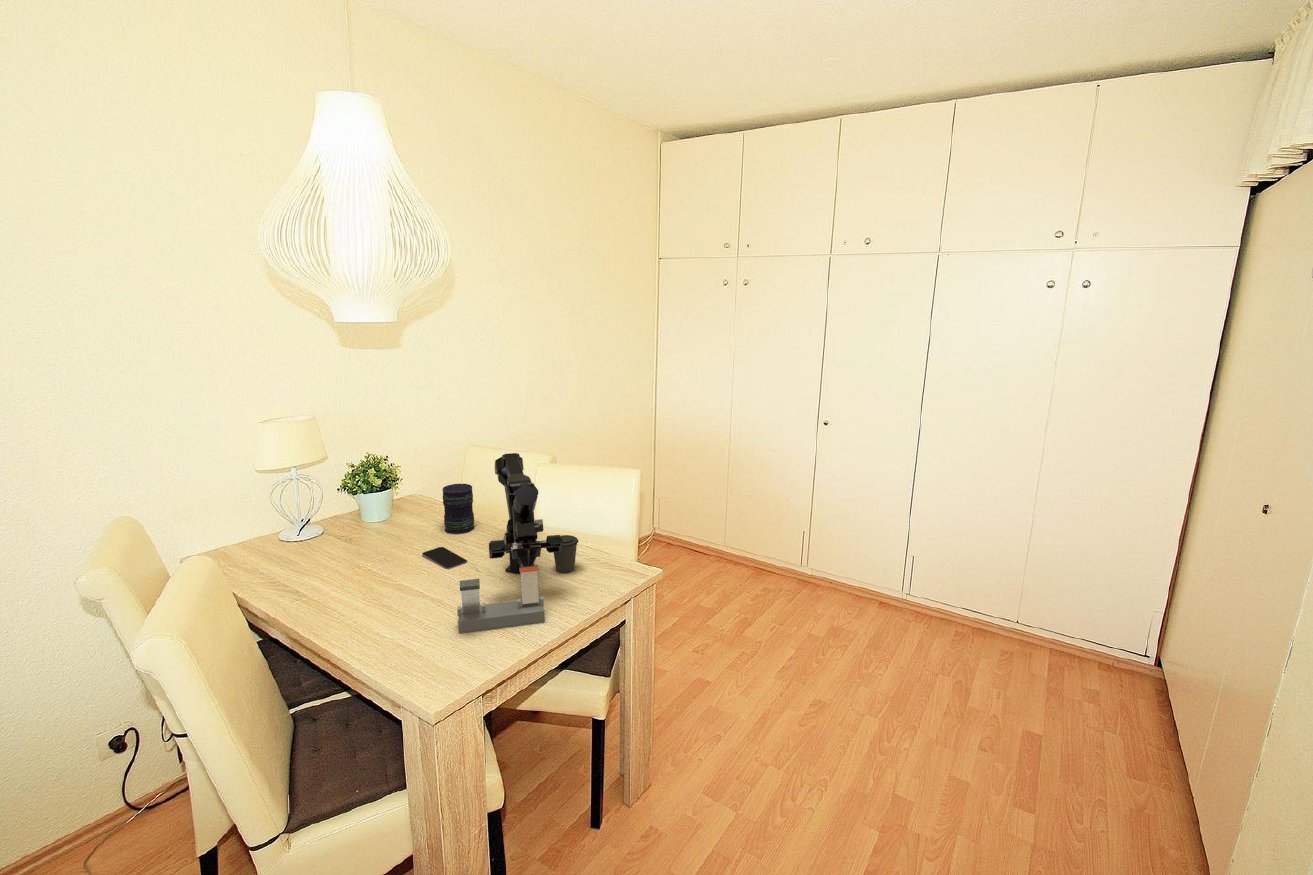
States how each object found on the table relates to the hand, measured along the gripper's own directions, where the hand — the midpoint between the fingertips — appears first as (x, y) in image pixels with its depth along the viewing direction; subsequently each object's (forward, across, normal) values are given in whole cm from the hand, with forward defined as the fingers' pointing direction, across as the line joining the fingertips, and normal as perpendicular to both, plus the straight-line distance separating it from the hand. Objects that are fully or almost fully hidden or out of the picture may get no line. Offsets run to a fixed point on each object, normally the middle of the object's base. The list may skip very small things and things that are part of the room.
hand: (528, 577), depth 149 cm
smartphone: (-19, -22, +32) cm, 43 cm away
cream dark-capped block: (+7, -14, 0) cm, 16 cm away
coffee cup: (-8, +12, +20) cm, 24 cm away
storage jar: (-37, -19, +48) cm, 64 cm away
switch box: (+9, -7, +2) cm, 12 cm away
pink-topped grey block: (+7, 0, 0) cm, 7 cm away
